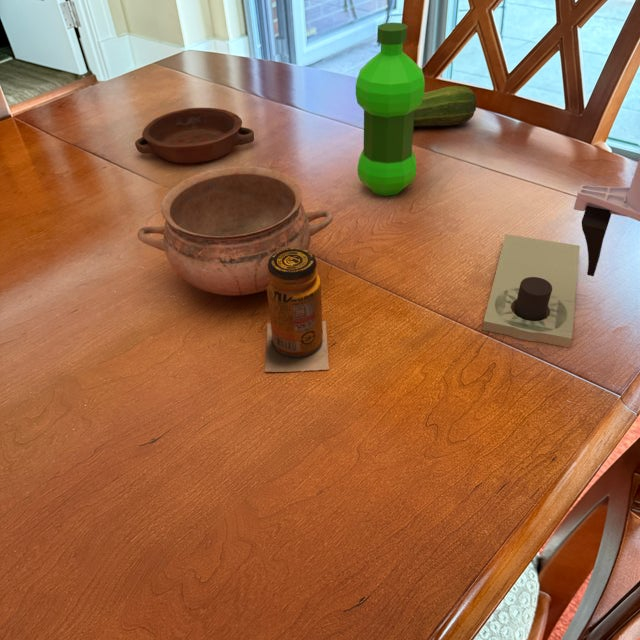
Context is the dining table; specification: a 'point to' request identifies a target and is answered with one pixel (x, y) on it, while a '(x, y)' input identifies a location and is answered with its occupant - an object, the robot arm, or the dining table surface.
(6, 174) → the dining table surface
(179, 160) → the dish
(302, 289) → the condiment
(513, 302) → the plate
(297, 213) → the cooking pot
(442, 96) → the vegetable
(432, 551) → the dining table surface
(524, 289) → the stopper
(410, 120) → the plastic bottle
